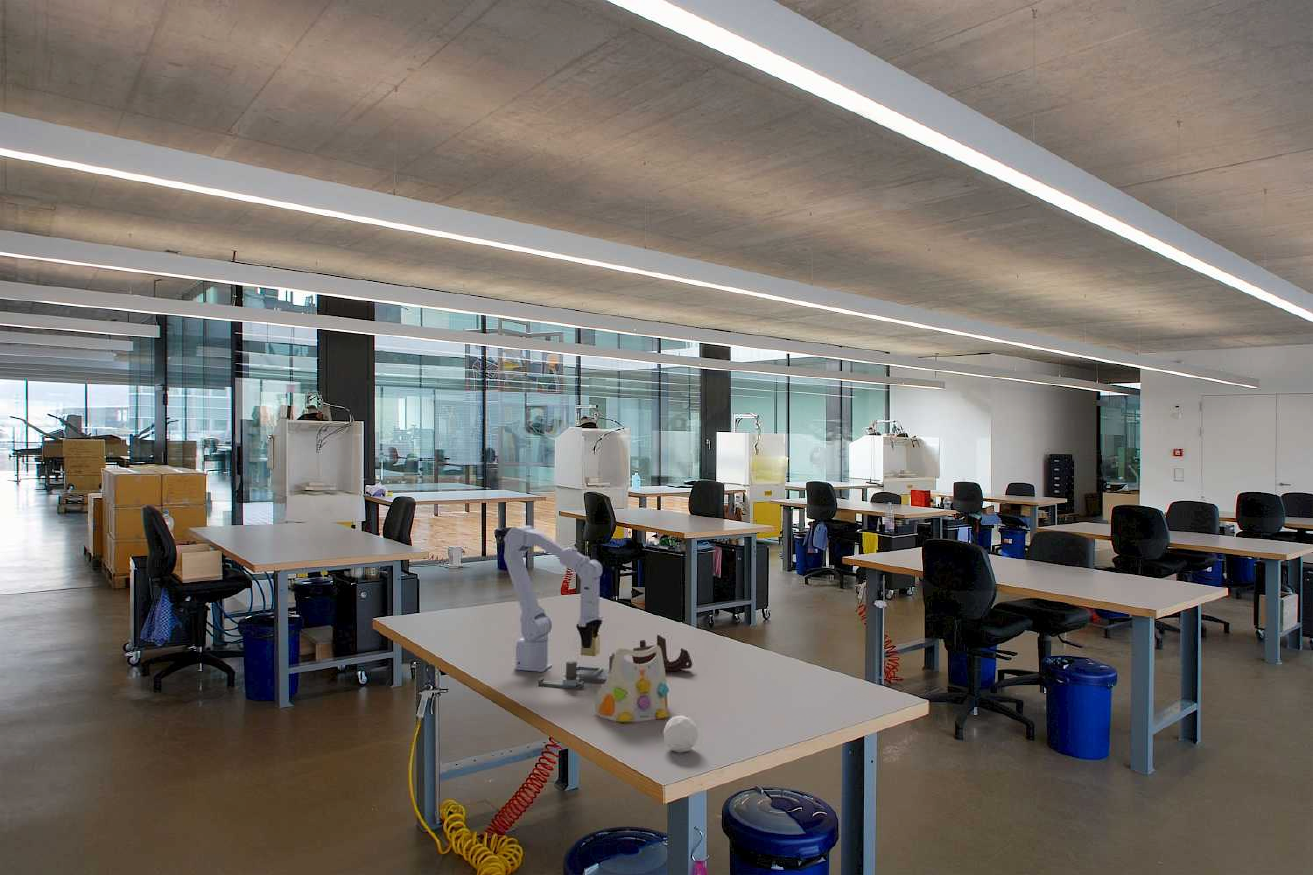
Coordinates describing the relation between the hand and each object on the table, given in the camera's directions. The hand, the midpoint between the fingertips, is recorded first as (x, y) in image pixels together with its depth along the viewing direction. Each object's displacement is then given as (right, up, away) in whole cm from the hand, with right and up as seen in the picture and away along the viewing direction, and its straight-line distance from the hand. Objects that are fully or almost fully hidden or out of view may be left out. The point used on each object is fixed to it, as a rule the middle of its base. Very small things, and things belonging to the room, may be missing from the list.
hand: (589, 645), depth 239 cm
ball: (+26, -8, -61) cm, 66 cm away
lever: (-4, -8, -14) cm, 17 cm away
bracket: (+22, -9, +7) cm, 25 cm away
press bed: (+1, -8, -4) cm, 9 cm away
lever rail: (-7, -8, -13) cm, 17 cm away
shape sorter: (+16, -8, -37) cm, 41 cm away
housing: (0, -2, 0) cm, 2 cm away
